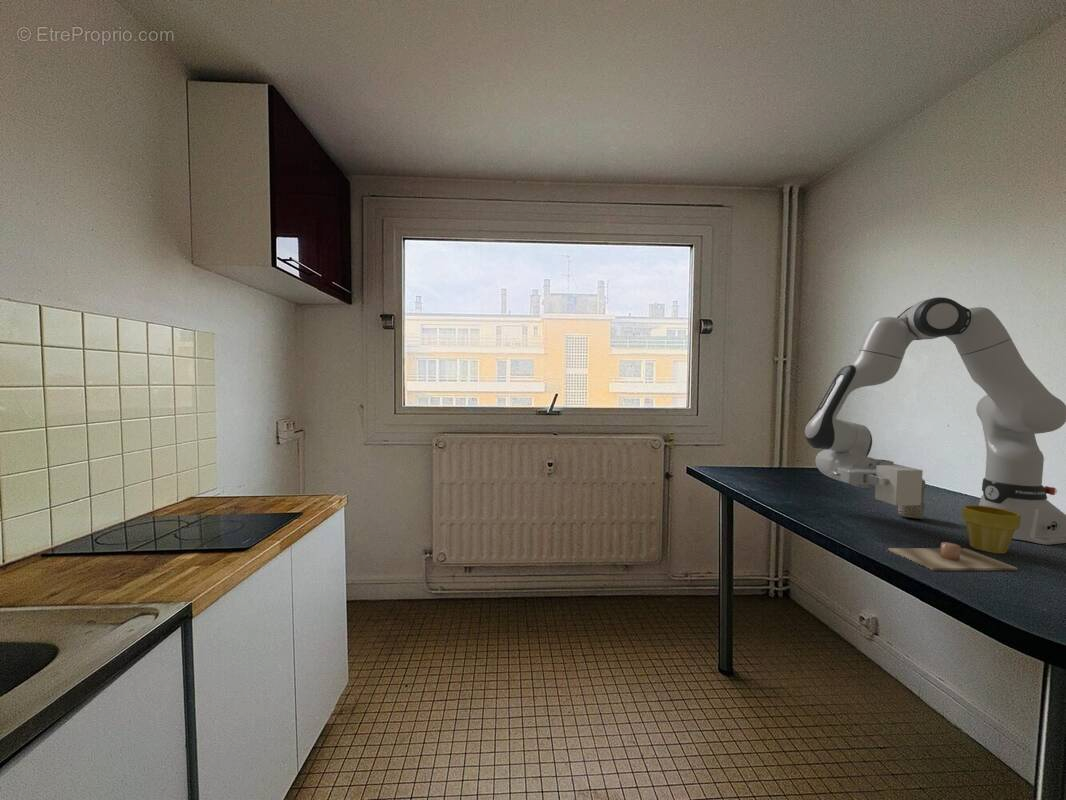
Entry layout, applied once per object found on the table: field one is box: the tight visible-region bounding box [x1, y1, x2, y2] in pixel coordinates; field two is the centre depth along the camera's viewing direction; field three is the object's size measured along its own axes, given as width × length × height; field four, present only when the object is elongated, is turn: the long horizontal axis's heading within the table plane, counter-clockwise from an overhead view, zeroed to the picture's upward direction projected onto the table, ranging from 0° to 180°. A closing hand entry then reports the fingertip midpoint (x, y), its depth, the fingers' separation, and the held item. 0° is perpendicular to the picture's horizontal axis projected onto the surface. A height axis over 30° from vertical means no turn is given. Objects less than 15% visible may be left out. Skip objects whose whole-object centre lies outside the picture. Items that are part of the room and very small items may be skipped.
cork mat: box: [887, 547, 1019, 571], centre depth 112 cm, size 20×12×1 cm, turn 94°
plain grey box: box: [874, 464, 923, 506], centre depth 127 cm, size 7×7×9 cm
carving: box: [897, 478, 926, 520], centre depth 146 cm, size 6×8×12 cm
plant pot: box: [961, 504, 1021, 555], centre depth 120 cm, size 10×10×10 cm
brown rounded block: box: [940, 541, 962, 560], centre depth 112 cm, size 3×3×3 cm
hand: (901, 482), depth 126 cm, fingers closed on plain grey box, 7 cm apart
